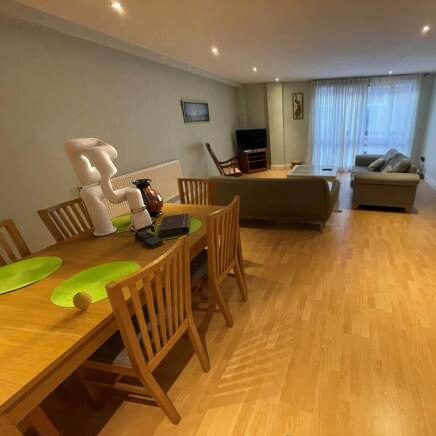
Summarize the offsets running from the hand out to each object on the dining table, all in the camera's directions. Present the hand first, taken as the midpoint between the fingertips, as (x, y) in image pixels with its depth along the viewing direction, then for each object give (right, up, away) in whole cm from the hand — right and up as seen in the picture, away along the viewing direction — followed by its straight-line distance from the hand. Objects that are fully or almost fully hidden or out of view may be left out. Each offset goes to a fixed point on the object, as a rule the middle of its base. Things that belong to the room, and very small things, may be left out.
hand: (145, 235), depth 150 cm
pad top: (-10, +4, +15) cm, 18 cm away
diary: (+12, +4, +15) cm, 19 cm away
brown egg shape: (+10, -26, -55) cm, 61 cm away
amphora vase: (-18, +12, +36) cm, 42 cm away
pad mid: (0, -2, +1) cm, 2 cm away
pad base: (+9, -5, -7) cm, 12 cm away
